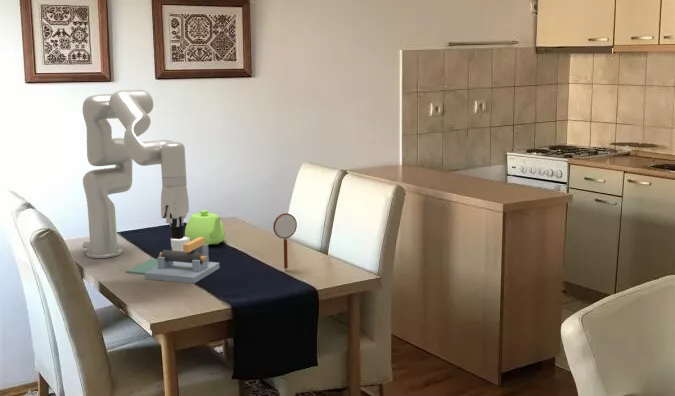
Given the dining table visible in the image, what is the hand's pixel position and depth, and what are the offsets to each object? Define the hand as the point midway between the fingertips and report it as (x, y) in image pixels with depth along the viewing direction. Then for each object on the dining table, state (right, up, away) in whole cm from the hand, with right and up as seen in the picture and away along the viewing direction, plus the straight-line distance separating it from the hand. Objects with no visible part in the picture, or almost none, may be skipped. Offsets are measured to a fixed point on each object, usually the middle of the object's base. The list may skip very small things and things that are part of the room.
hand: (177, 238), depth 237 cm
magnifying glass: (+34, -12, +15) cm, 39 cm away
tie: (+3, -4, +12) cm, 13 cm away
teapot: (0, -5, +51) cm, 52 cm away
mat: (-14, -11, +20) cm, 27 cm away
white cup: (-6, -9, +33) cm, 34 cm away
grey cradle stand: (-1, -13, +13) cm, 18 cm away
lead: (-1, -9, +12) cm, 15 cm away
